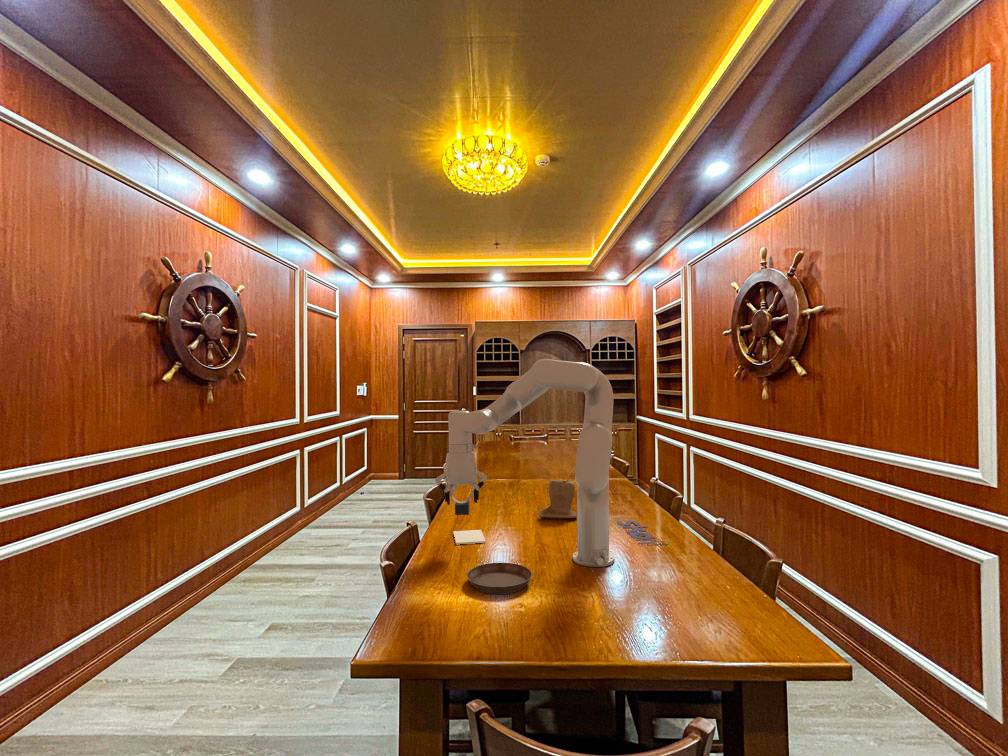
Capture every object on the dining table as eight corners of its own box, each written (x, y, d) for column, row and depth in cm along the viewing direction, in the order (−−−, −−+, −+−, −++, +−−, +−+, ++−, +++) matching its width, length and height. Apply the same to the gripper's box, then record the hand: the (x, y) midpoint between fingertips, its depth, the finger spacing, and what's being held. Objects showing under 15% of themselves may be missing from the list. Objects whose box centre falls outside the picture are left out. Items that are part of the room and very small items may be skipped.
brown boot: (576, 513, 208) (575, 477, 208) (577, 521, 196) (577, 483, 196) (539, 512, 210) (539, 476, 210) (538, 520, 198) (538, 482, 198)
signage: (615, 520, 196) (640, 520, 196) (615, 522, 196) (640, 522, 196) (638, 544, 168) (668, 543, 168) (638, 546, 168) (668, 546, 168)
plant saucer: (459, 577, 142) (459, 566, 142) (517, 568, 148) (517, 558, 148) (478, 603, 126) (478, 590, 126) (543, 592, 132) (543, 580, 132)
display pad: (485, 543, 171) (485, 540, 171) (456, 545, 169) (456, 542, 169) (480, 531, 183) (480, 529, 183) (453, 533, 182) (453, 531, 182)
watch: (450, 510, 166) (449, 477, 166) (475, 510, 166) (474, 476, 166) (448, 515, 160) (448, 480, 160) (474, 514, 160) (473, 479, 161)
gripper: (485, 446, 169) (487, 498, 168) (433, 448, 165) (434, 502, 165) (489, 449, 161) (490, 504, 161) (434, 451, 158) (435, 507, 158)
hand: (461, 502), depth 163 cm, fingers closed on watch, 8 cm apart
